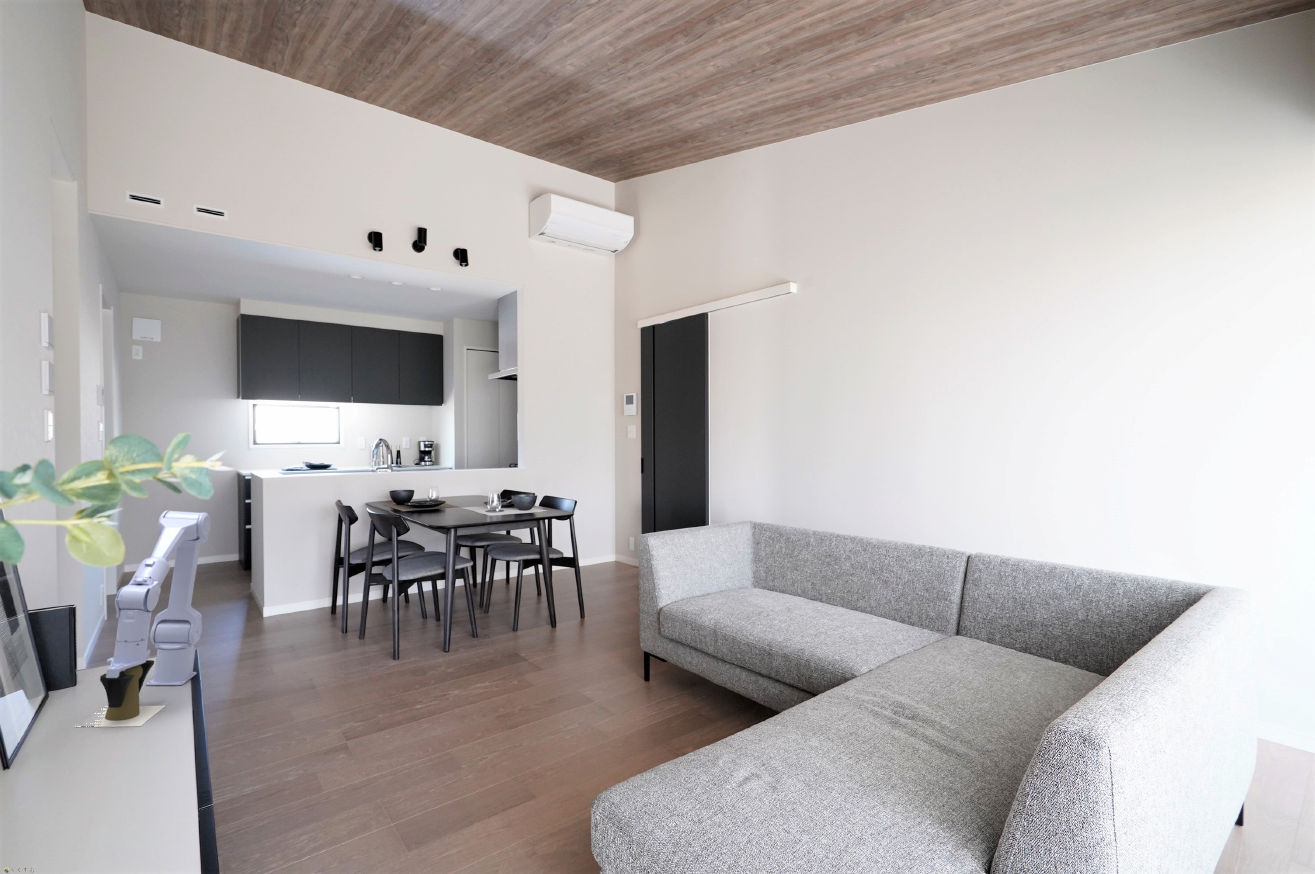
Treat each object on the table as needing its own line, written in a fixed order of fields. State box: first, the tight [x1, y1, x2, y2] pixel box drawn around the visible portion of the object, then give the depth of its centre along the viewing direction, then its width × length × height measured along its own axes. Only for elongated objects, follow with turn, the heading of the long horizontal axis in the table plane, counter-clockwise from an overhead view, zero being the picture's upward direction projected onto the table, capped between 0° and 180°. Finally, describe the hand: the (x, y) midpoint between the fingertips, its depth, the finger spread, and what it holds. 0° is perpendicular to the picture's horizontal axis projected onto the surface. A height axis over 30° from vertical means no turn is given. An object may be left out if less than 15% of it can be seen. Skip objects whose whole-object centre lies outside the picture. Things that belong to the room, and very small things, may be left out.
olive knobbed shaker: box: [105, 665, 143, 721], centre depth 146 cm, size 6×6×11 cm
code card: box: [74, 705, 166, 728], centre depth 146 cm, size 12×12×1 cm
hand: (124, 700), depth 146 cm, fingers open, 7 cm apart
